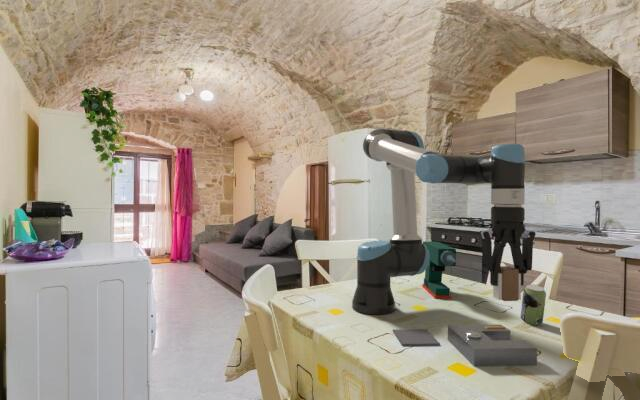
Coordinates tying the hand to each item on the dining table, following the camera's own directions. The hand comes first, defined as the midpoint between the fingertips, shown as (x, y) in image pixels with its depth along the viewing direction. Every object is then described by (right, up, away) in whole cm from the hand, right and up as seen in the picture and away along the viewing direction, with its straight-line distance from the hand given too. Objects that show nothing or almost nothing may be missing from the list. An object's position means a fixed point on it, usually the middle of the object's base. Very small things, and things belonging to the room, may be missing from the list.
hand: (506, 297), depth 89 cm
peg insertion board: (-5, -14, 0) cm, 14 cm away
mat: (-21, -14, +8) cm, 26 cm away
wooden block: (0, -1, 0) cm, 1 cm away
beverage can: (+19, -14, +21) cm, 32 cm away
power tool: (+1, -14, +50) cm, 52 cm away
